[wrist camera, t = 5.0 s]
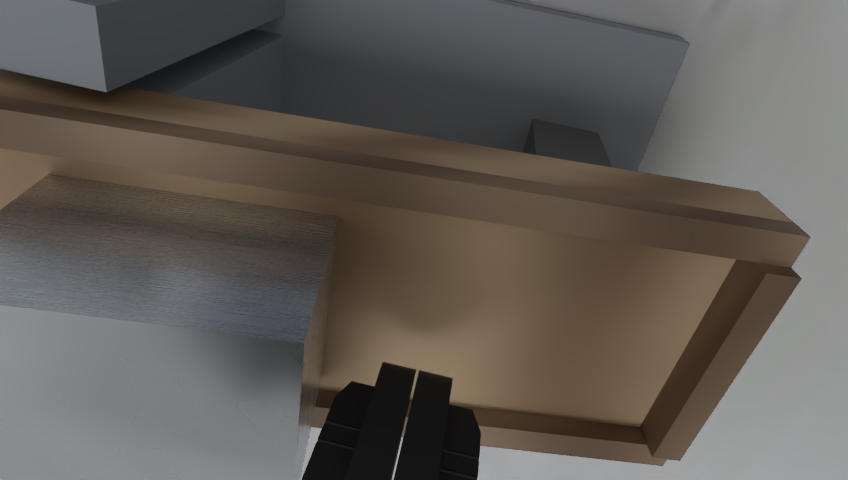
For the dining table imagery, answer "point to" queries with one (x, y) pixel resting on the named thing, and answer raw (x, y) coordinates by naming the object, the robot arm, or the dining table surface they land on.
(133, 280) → the block
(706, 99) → the dining table surface
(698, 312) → the beam
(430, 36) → the pivot stand
